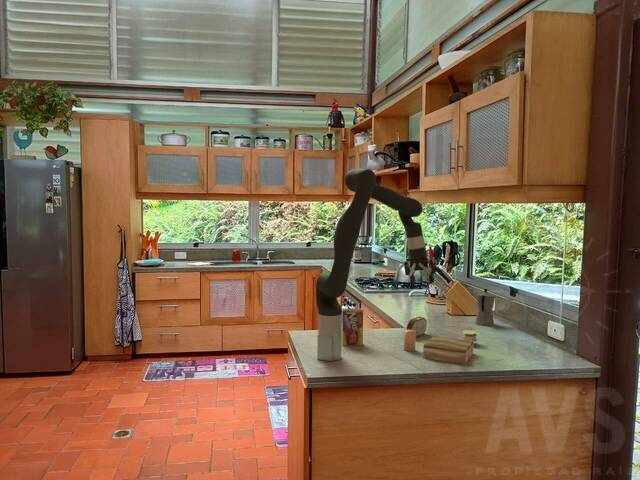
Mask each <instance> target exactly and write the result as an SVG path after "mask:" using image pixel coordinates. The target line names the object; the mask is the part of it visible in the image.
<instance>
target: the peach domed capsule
mask: <svg viewBox="0 0 640 480" xmlns="http://www.w3.org/2000/svg"><path fill="white" fill-rule="evenodd" d="M403 332H404V334H403V351H405V352H415V351H416V338H417V337H416V331H415V330H410V329H408V330H407V329H405V330H404V331H403Z"/></svg>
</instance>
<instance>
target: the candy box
mask: <svg viewBox="0 0 640 480" xmlns="http://www.w3.org/2000/svg"><path fill="white" fill-rule="evenodd" d="M342 346H364V310H363V307H362V308H359V307H358V308H353V307H350V308H345V307H344V308H343V307H342Z"/></svg>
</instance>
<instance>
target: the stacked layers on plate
mask: <svg viewBox="0 0 640 480" xmlns="http://www.w3.org/2000/svg"><path fill="white" fill-rule="evenodd" d="M477 333H478V331H477V330H466V329H465V330H463V331H462V340H469V341H473V343H475V342H476V341H477V340H478V339H477V337H478V334H477Z"/></svg>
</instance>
